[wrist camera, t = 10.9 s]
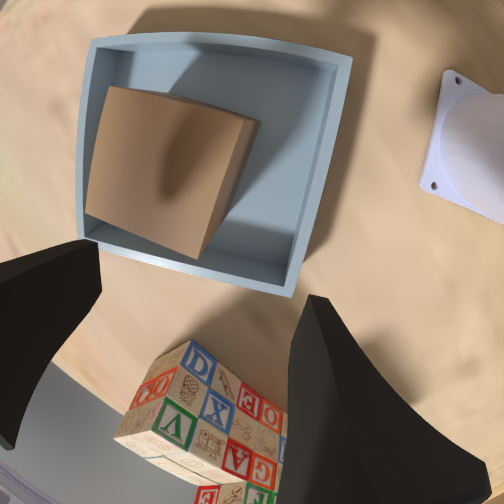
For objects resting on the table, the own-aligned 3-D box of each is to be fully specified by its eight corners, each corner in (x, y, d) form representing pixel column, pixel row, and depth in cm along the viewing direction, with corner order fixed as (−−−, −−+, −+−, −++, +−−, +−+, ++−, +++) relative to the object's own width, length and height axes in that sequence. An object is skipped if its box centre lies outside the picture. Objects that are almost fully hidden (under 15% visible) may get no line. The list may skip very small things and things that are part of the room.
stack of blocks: (151, 360, 25) (96, 467, 14) (192, 335, 23) (135, 468, 12) (286, 454, 30) (277, 537, 19) (329, 441, 28) (327, 533, 17)
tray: (343, 68, 13) (353, 57, 11) (292, 272, 19) (291, 298, 16) (117, 46, 14) (91, 39, 11) (102, 227, 20) (78, 243, 17)
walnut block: (262, 121, 15) (243, 121, 9) (227, 214, 17) (197, 259, 12) (167, 92, 15) (109, 85, 9) (142, 182, 17) (85, 212, 12)
